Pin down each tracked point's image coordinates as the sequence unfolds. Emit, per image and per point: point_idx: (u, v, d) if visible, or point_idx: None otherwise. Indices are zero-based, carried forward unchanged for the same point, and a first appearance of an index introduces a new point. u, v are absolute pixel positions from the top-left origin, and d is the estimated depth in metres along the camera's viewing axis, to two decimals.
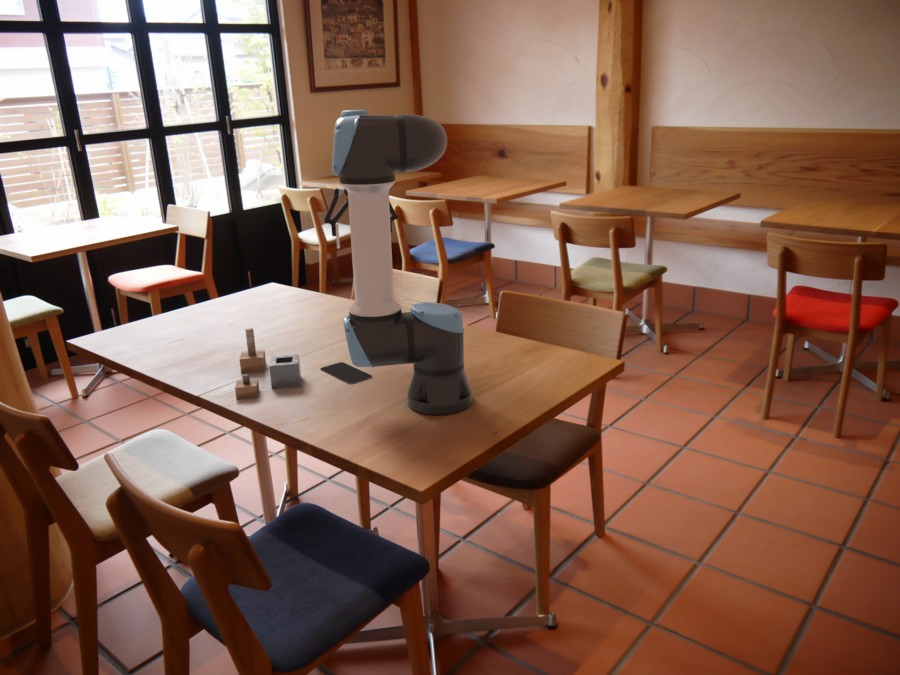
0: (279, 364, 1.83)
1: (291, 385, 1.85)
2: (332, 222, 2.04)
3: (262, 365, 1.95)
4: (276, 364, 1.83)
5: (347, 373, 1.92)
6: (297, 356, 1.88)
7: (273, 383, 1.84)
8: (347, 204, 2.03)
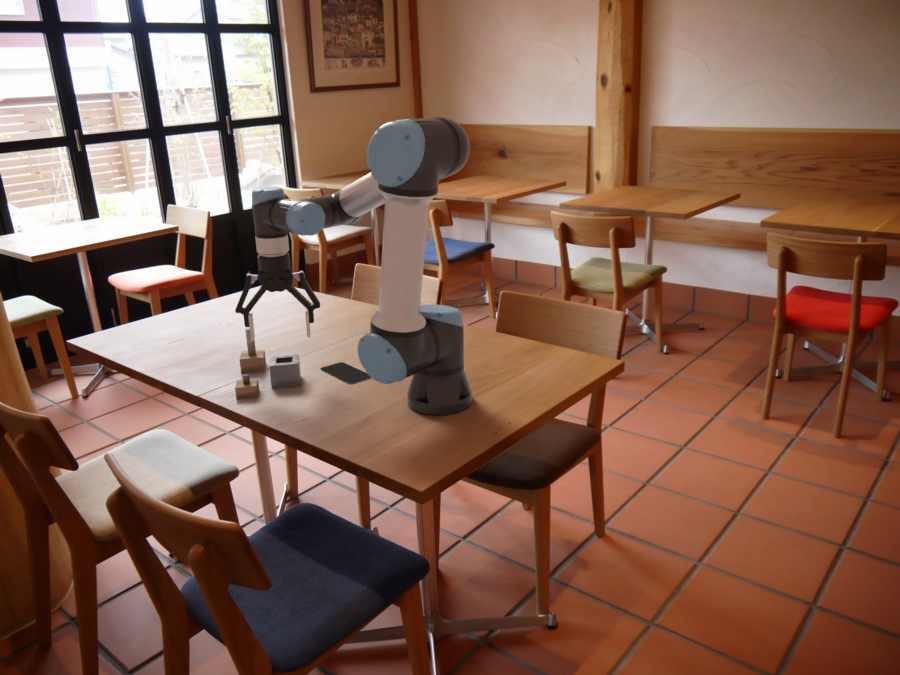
0: (279, 364, 1.83)
1: (291, 385, 1.85)
2: (244, 312, 1.79)
3: (262, 365, 1.95)
4: (276, 364, 1.83)
5: (347, 373, 1.92)
6: (297, 356, 1.88)
7: (273, 383, 1.84)
8: (261, 292, 1.78)
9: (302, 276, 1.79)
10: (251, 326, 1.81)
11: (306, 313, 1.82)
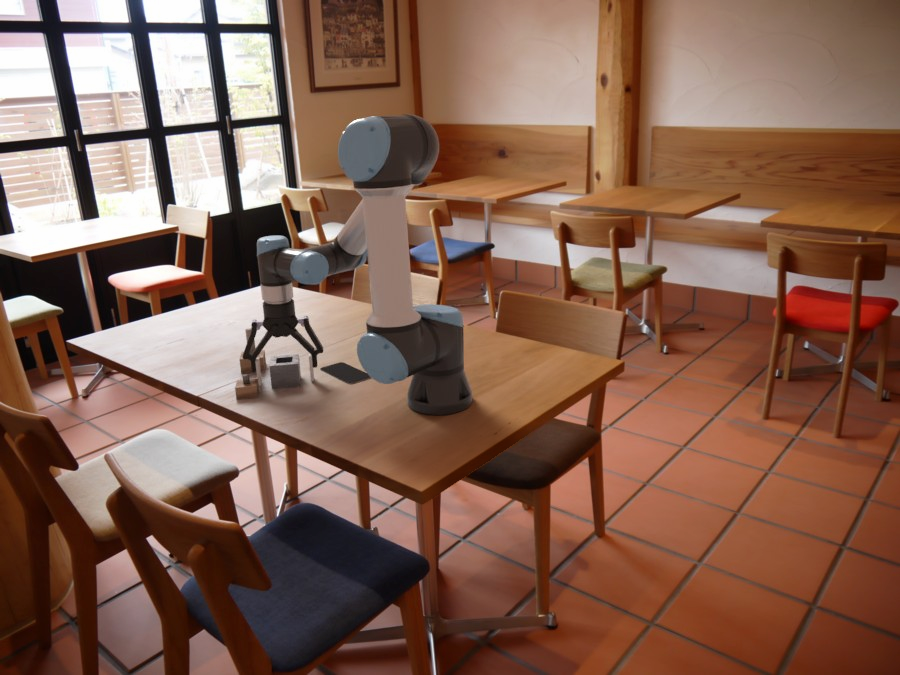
0: (279, 364, 1.83)
1: (291, 385, 1.85)
2: (251, 358, 1.83)
3: (262, 365, 1.95)
4: (276, 364, 1.83)
5: (347, 373, 1.92)
6: (297, 356, 1.88)
7: (273, 383, 1.84)
8: (267, 338, 1.82)
9: (306, 322, 1.83)
10: (258, 371, 1.84)
11: (310, 358, 1.86)
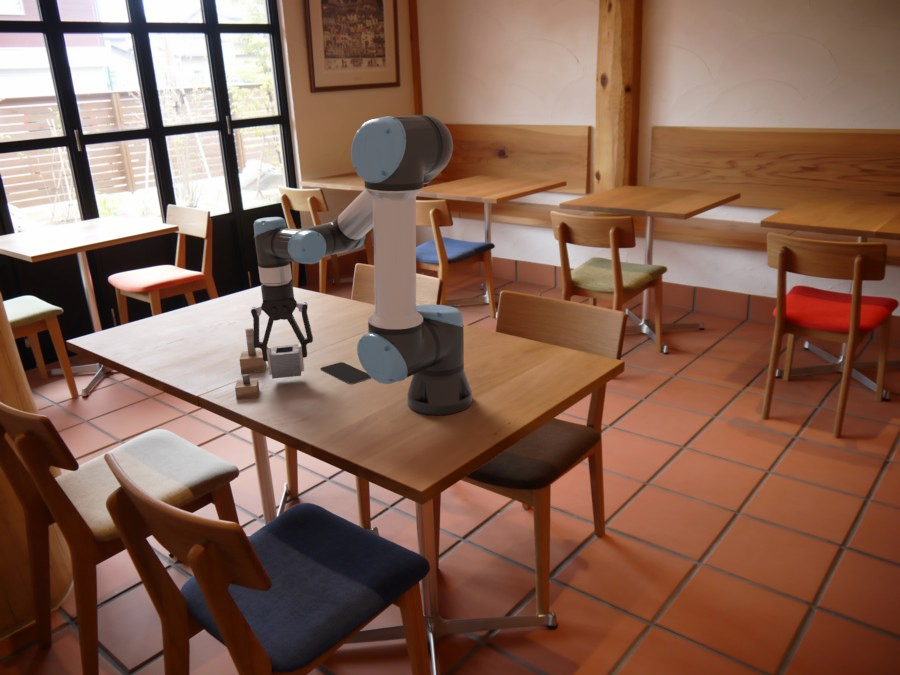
0: (279, 353, 1.82)
1: (292, 375, 1.83)
2: (262, 347, 1.82)
3: (262, 365, 1.95)
4: (276, 354, 1.82)
5: (347, 373, 1.92)
6: (297, 346, 1.87)
7: (273, 373, 1.82)
8: (270, 323, 1.81)
9: (305, 308, 1.81)
10: (269, 360, 1.84)
11: (299, 348, 1.84)
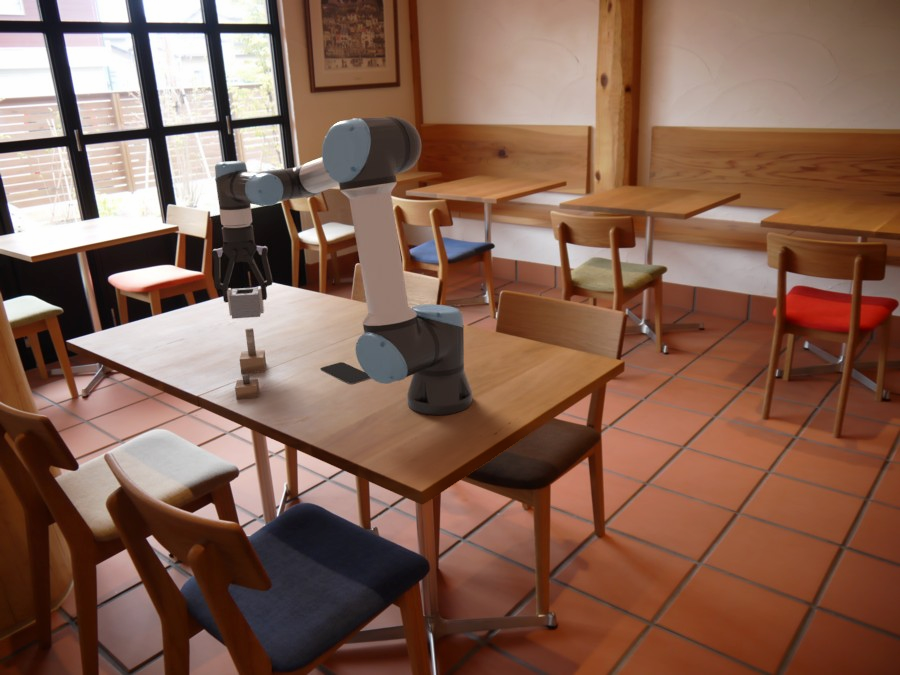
0: (239, 294, 1.88)
1: (251, 315, 1.90)
2: (223, 288, 1.89)
3: (262, 365, 1.95)
4: (236, 294, 1.88)
5: (347, 373, 1.92)
6: None
7: (233, 313, 1.89)
8: (230, 265, 1.87)
9: (265, 251, 1.87)
10: None
11: (259, 290, 1.90)
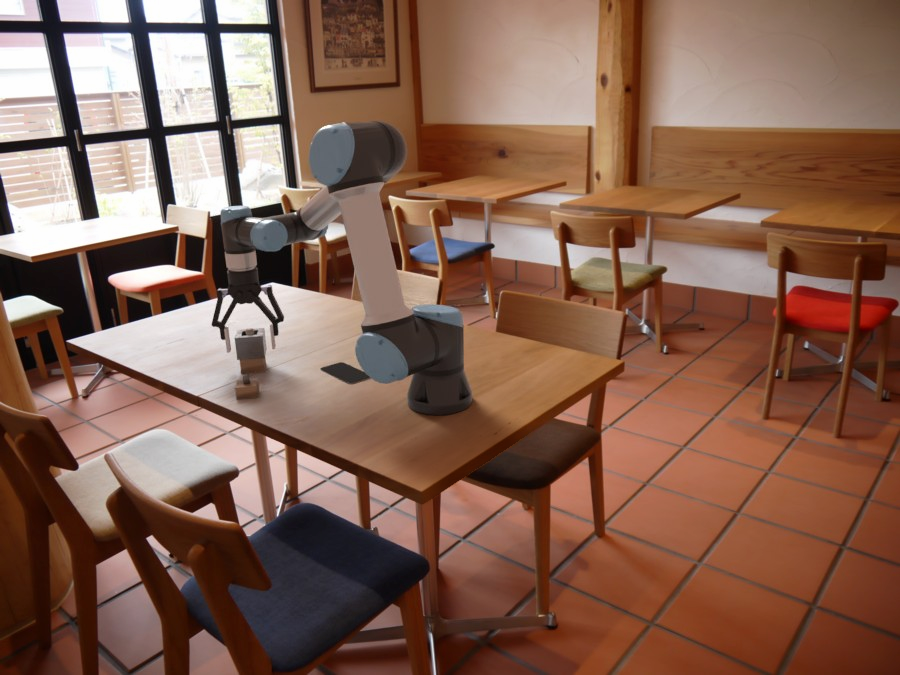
0: (244, 336, 1.92)
1: (256, 357, 1.93)
2: (220, 326, 1.91)
3: (262, 365, 1.95)
4: (241, 336, 1.92)
5: (347, 373, 1.92)
6: (262, 329, 1.97)
7: (238, 355, 1.92)
8: (233, 305, 1.90)
9: (270, 290, 1.91)
10: (227, 339, 1.93)
11: (270, 326, 1.94)
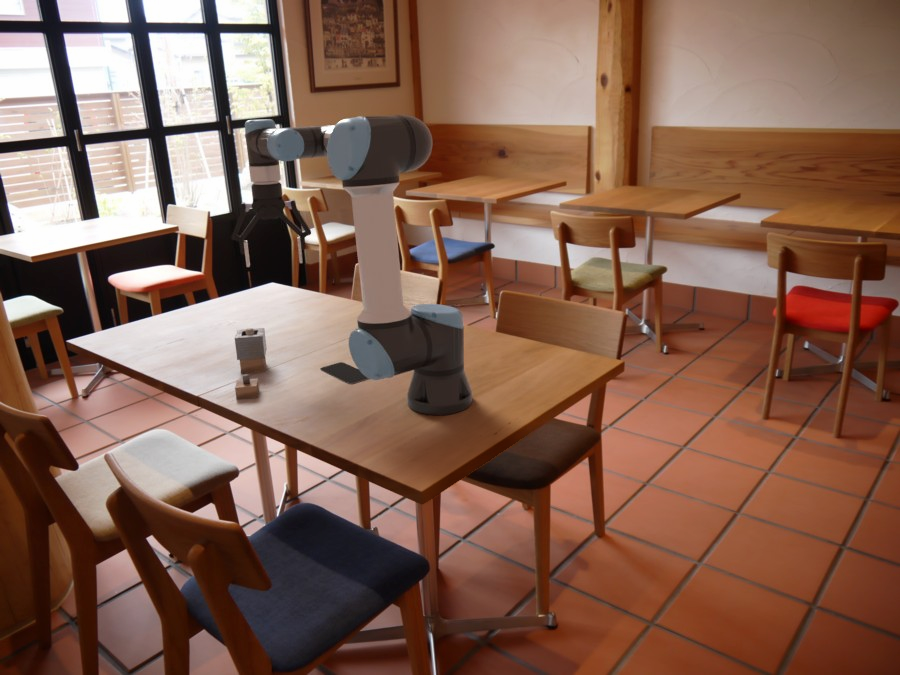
0: (244, 336, 1.92)
1: (256, 357, 1.93)
2: (240, 239, 1.91)
3: (262, 365, 1.95)
4: (241, 336, 1.92)
5: (347, 373, 1.92)
6: (262, 329, 1.97)
7: (238, 355, 1.92)
8: (255, 220, 1.90)
9: (293, 204, 1.91)
10: (246, 253, 1.92)
11: (298, 240, 1.94)
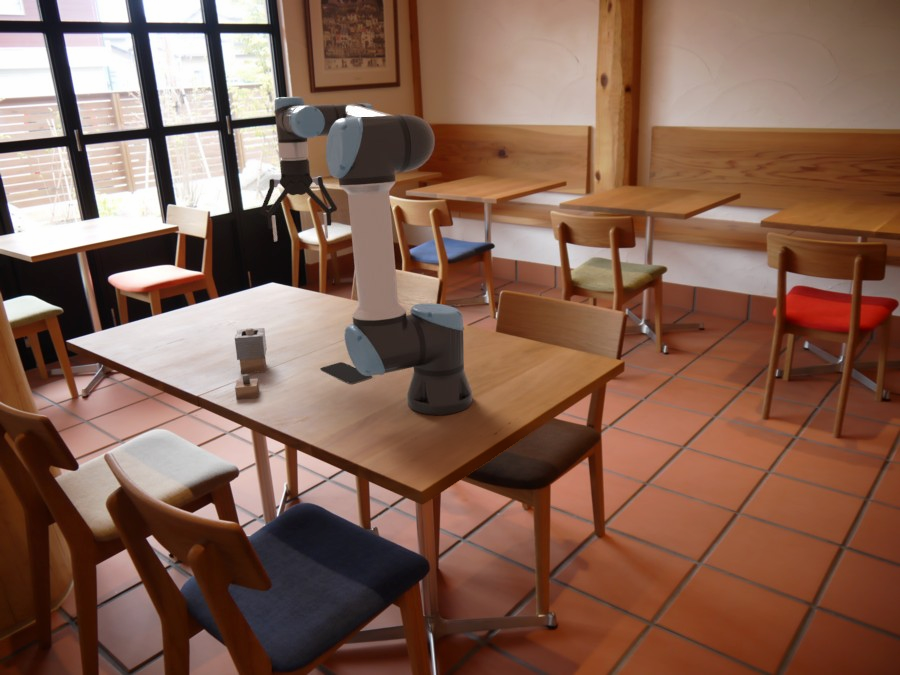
0: (244, 336, 1.92)
1: (256, 357, 1.93)
2: (268, 214, 1.96)
3: (262, 365, 1.95)
4: (241, 336, 1.92)
5: (347, 373, 1.92)
6: (262, 329, 1.97)
7: (238, 355, 1.92)
8: (283, 195, 1.95)
9: (320, 180, 1.96)
10: (274, 227, 1.98)
11: (324, 215, 1.99)
